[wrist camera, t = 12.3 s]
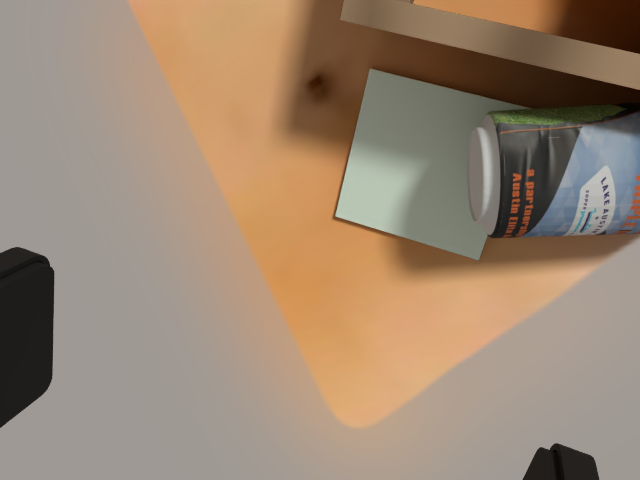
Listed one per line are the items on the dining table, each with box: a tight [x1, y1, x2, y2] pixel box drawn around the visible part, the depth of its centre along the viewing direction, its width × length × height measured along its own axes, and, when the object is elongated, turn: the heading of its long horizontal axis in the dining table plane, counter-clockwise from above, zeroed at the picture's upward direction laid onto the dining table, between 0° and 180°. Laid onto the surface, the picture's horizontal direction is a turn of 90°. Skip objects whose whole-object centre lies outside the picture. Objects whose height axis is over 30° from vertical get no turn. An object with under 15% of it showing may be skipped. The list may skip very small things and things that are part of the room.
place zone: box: [335, 69, 532, 260], centre depth 32 cm, size 9×9×1 cm
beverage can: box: [467, 102, 640, 238], centre depth 26 cm, size 6×7×12 cm
